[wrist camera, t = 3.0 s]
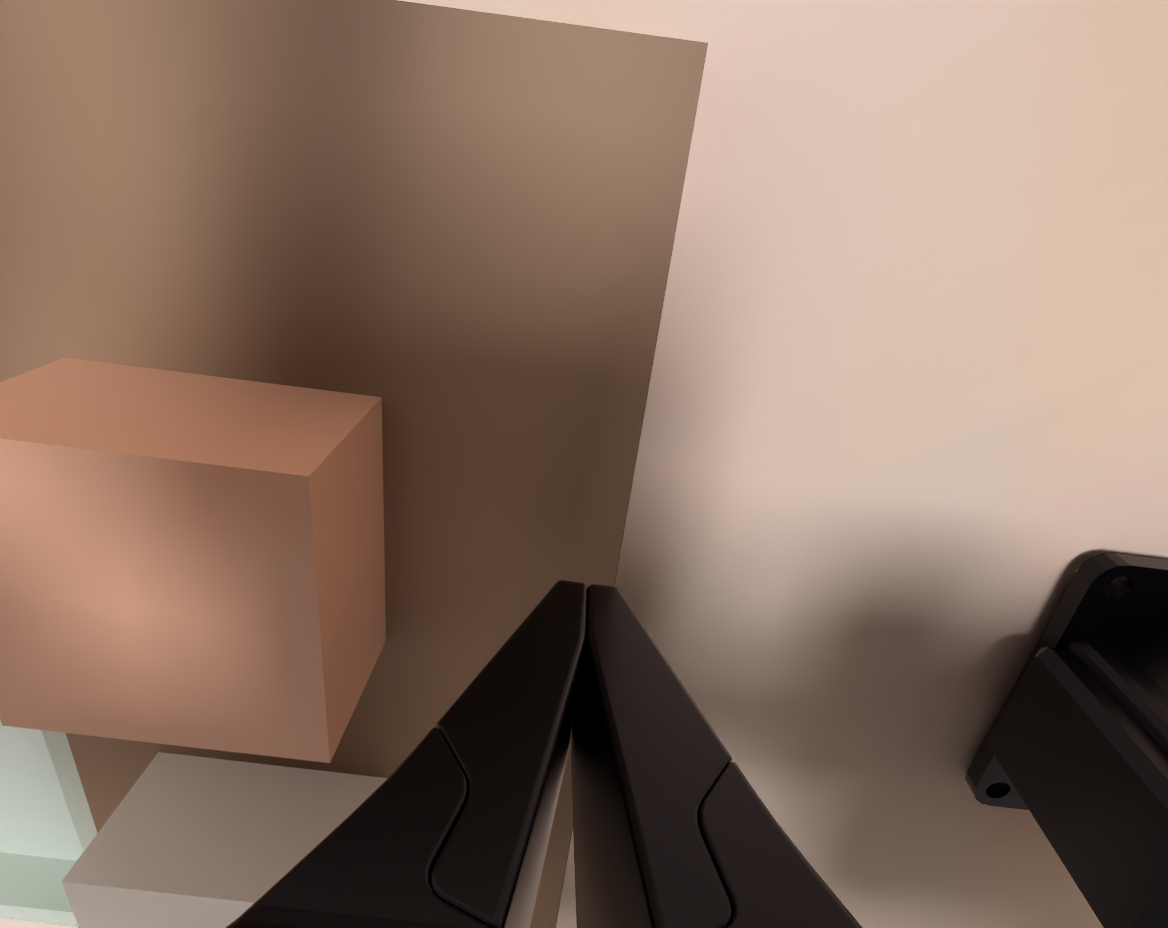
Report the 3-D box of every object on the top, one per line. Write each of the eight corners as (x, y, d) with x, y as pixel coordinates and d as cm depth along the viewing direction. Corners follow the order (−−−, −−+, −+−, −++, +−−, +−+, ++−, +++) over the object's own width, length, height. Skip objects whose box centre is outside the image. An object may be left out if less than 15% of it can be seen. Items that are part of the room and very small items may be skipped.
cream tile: (388, 778, 13) (340, 912, 11) (390, 913, 15) (351, 1051, 13) (158, 752, 13) (61, 881, 10) (191, 891, 15) (115, 1026, 12)
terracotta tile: (381, 397, 9) (309, 475, 7) (386, 640, 11) (330, 762, 9) (64, 358, 9) (-111, 424, 7) (124, 610, 11) (2, 726, 9)
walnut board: (689, 63, 9) (708, 43, 7) (550, 910, 18) (543, 996, 16) (-34, -35, 9) (-195, -81, 7) (184, 870, 18) (135, 952, 16)
